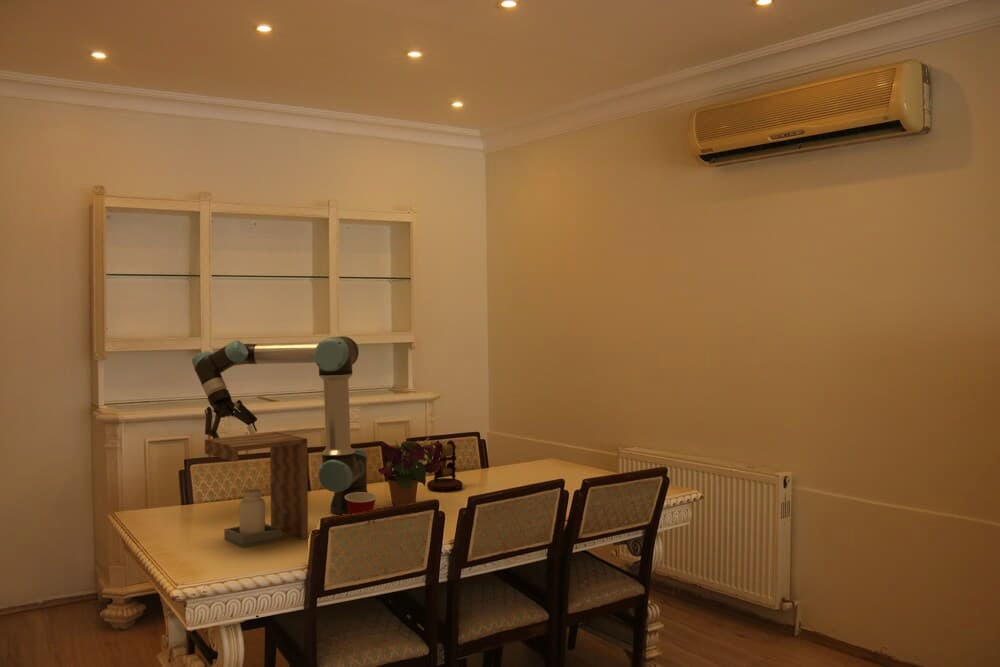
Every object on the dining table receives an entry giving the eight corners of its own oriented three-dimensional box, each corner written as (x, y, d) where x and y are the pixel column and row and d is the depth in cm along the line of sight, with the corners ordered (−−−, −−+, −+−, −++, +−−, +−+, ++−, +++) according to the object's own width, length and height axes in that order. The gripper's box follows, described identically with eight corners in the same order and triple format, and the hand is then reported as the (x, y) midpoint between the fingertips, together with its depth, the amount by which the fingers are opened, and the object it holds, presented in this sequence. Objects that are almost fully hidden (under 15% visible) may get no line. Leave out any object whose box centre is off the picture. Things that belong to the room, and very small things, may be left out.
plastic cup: (350, 536, 279) (350, 500, 278) (340, 529, 288) (340, 494, 288) (381, 532, 284) (381, 496, 283) (371, 525, 293) (371, 490, 293)
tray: (224, 539, 275) (224, 528, 275) (261, 532, 284) (261, 522, 284) (243, 547, 266) (242, 536, 266) (280, 540, 274) (280, 529, 274)
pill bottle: (270, 534, 277) (269, 488, 277) (255, 541, 270) (255, 493, 269) (249, 532, 280) (249, 487, 280) (234, 538, 272) (233, 492, 272)
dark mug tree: (447, 484, 365) (447, 437, 365) (469, 489, 354) (469, 441, 354) (419, 488, 355) (419, 441, 355) (442, 494, 344) (441, 445, 344)
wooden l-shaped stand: (205, 539, 275) (204, 439, 274) (276, 526, 292) (275, 432, 291) (235, 553, 260) (234, 446, 259) (307, 538, 277) (307, 438, 276)
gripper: (241, 391, 317) (264, 441, 312) (181, 404, 297) (204, 458, 293) (251, 381, 312) (274, 433, 308) (190, 394, 293) (214, 449, 288)
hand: (240, 445), depth 300 cm, fingers open, 13 cm apart
